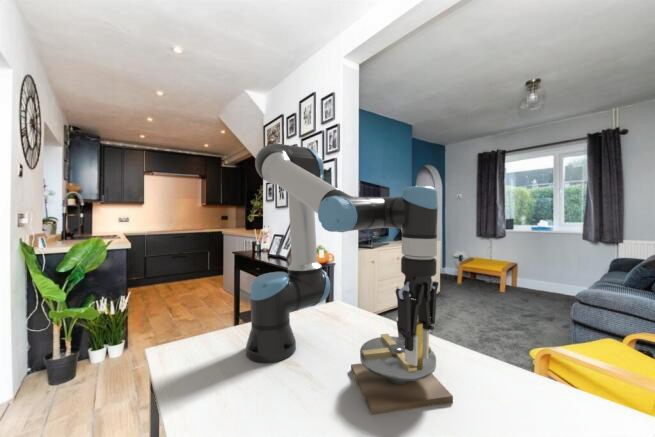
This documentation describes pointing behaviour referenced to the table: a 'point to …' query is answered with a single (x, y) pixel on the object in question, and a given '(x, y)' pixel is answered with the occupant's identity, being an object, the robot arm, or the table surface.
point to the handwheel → (396, 358)
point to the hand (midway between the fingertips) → (416, 359)
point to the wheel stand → (398, 391)
